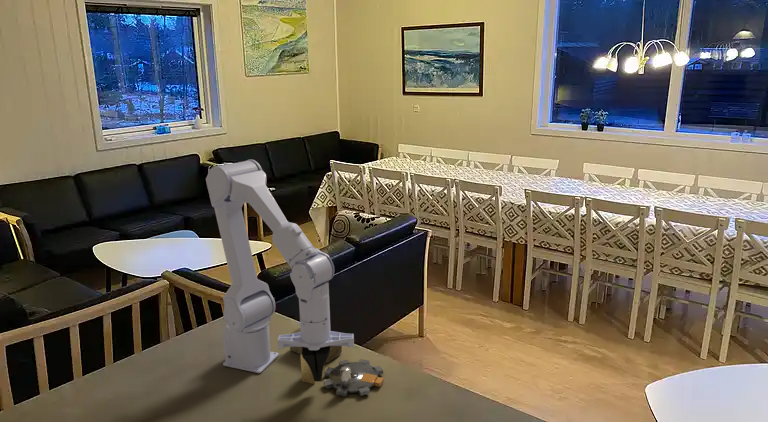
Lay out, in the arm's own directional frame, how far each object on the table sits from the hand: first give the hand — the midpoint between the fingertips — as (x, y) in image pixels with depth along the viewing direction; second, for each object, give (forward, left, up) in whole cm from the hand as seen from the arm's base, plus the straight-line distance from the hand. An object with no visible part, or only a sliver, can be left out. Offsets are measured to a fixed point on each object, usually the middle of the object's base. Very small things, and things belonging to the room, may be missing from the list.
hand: (318, 378), depth 108 cm
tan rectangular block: (-3, +4, -3) cm, 6 cm away
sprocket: (+5, +6, -3) cm, 8 cm away
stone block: (-7, +13, -3) cm, 15 cm away
